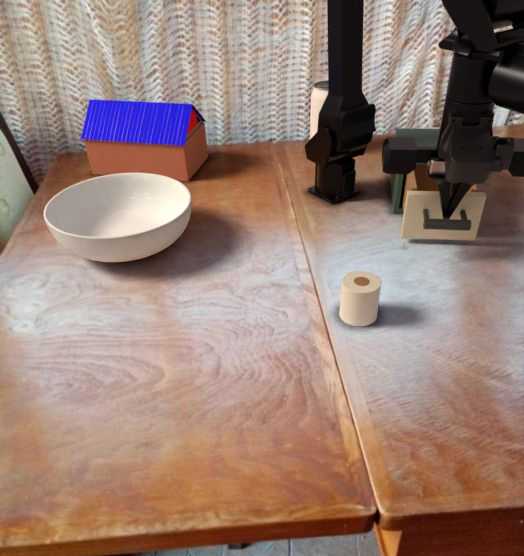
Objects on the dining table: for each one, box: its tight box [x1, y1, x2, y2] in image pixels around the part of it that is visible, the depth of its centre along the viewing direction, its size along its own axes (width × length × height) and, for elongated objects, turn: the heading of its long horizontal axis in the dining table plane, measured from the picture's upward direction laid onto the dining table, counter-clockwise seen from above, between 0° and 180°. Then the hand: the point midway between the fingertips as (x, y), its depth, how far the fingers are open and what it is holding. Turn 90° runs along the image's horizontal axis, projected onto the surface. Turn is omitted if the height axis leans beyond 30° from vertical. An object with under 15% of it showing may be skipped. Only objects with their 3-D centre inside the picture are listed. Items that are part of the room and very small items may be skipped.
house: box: [80, 98, 209, 182], centre depth 100 cm, size 12×20×12 cm, turn 76°
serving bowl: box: [43, 173, 193, 263], centre depth 80 cm, size 21×21×7 cm
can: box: [309, 80, 328, 140], centre depth 103 cm, size 6×6×12 cm
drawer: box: [400, 166, 487, 241], centre depth 78 cm, size 17×10×7 cm, turn 172°
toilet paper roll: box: [338, 270, 382, 327], centre depth 65 cm, size 5×5×5 cm
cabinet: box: [389, 127, 440, 214], centre depth 87 cm, size 14×12×9 cm
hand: (445, 217), depth 73 cm, fingers closed
